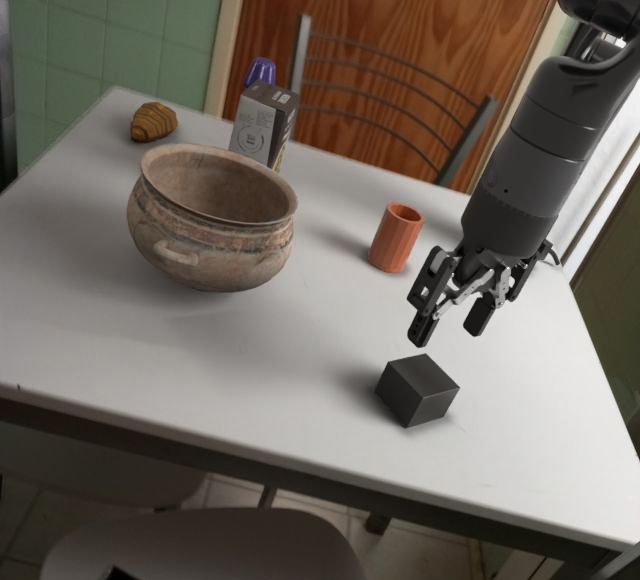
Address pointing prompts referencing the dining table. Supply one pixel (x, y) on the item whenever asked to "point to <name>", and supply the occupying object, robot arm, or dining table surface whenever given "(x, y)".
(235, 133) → the coffee box
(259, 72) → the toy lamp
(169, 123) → the croissant
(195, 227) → the cooking pot
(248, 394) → the dining table surface
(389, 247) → the cup
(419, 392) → the block
